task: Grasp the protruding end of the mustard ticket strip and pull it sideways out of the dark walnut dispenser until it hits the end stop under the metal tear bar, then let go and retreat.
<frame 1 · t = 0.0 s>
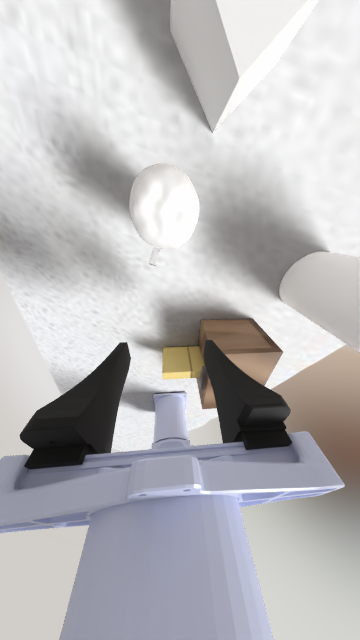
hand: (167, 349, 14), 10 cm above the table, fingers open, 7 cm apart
ticket: (203, 360, 25), point 3 cm above the table, slide at 0.0 cm
adhesive note: (224, 51, 11), on the table
cup: (305, 280, 22), on the table
dispenser: (220, 347, 28), on the table
milkshake: (164, 221, 17), on the table
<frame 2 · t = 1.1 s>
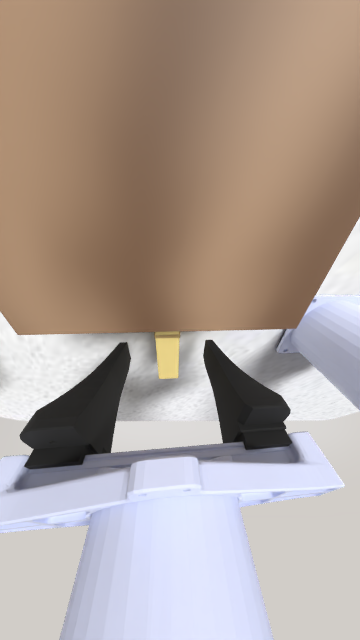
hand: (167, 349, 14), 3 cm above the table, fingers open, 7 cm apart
ticket: (166, 285, 11), point 3 cm above the table, slide at 0.0 cm
dispenser: (165, 220, 11), on the table
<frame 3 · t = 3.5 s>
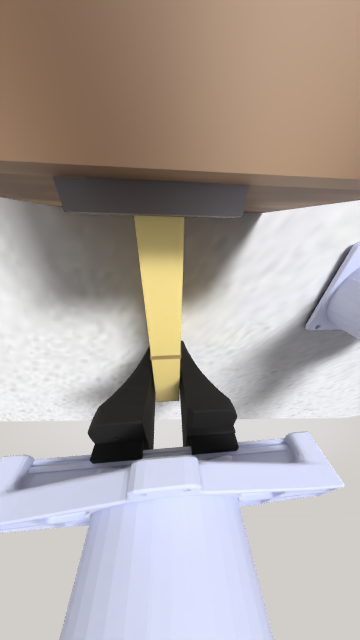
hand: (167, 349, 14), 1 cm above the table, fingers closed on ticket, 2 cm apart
ticket: (164, 295, 9), point 3 cm above the table, slide at 5.0 cm, touching gripper
dispenser: (158, 85, 7), on the table
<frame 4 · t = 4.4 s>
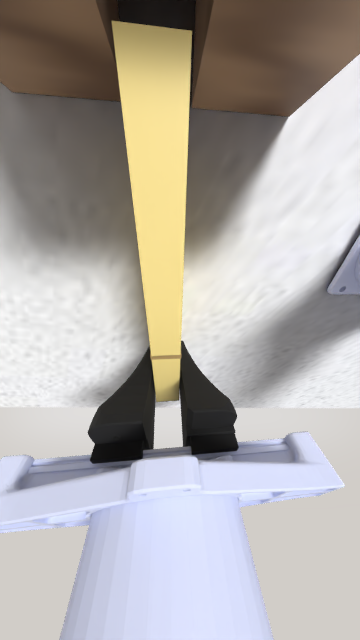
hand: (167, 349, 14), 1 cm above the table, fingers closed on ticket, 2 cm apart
ticket: (165, 295, 9), point 3 cm above the table, slide at 8.9 cm, touching gripper
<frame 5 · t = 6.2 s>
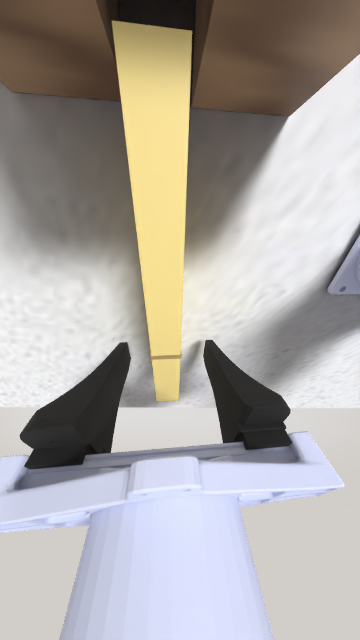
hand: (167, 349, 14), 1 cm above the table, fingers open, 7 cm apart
ticket: (165, 295, 9), point 3 cm above the table, slide at 8.9 cm
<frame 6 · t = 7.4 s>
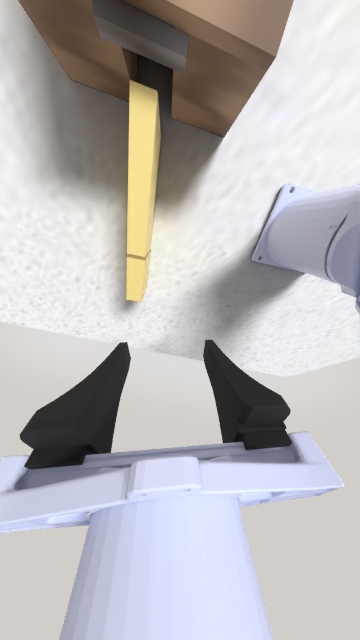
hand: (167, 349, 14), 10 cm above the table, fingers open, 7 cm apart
ticket: (142, 225, 14), point 3 cm above the table, slide at 8.9 cm
dispenser: (161, 9, 10), on the table
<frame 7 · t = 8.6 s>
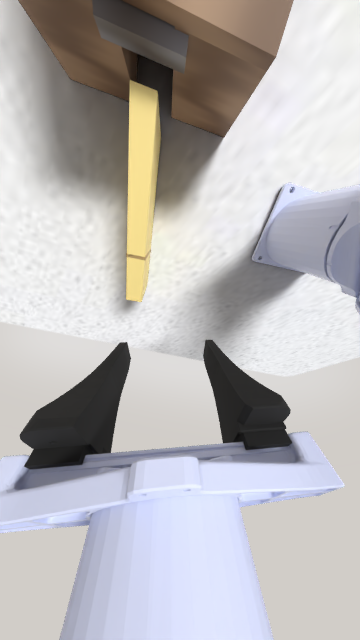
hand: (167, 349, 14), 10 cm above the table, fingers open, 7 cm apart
ticket: (142, 225, 14), point 3 cm above the table, slide at 8.9 cm
dispenser: (161, 9, 10), on the table
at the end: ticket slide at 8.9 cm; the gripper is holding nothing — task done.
